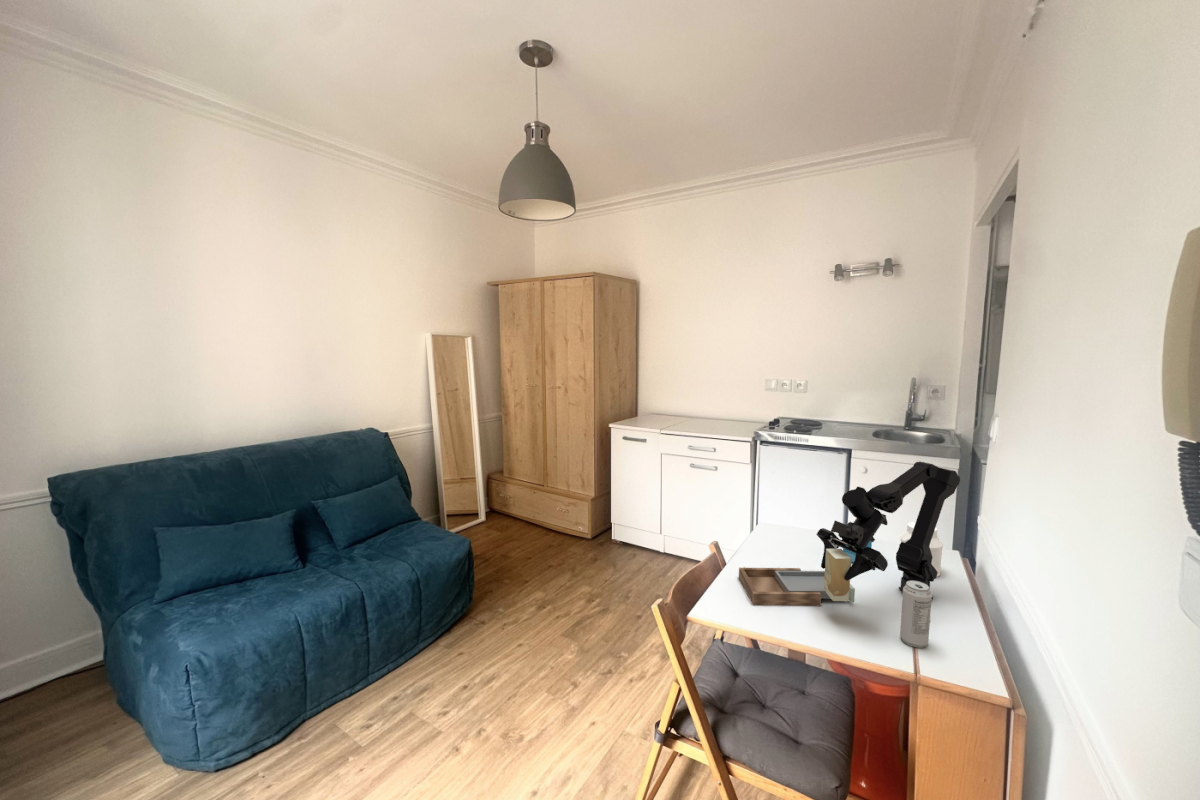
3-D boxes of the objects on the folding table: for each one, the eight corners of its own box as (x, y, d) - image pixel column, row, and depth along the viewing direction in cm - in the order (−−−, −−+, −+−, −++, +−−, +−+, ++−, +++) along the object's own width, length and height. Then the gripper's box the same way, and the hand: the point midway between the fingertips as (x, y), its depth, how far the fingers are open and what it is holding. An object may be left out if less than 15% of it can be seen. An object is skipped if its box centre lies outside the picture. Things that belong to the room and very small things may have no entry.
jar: (945, 572, 159) (948, 528, 157) (933, 580, 153) (936, 535, 152) (906, 560, 168) (909, 518, 166) (893, 567, 163) (896, 524, 161)
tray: (828, 574, 155) (829, 563, 154) (854, 601, 138) (854, 588, 138) (772, 574, 155) (772, 562, 155) (790, 601, 139) (791, 588, 139)
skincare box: (823, 589, 135) (824, 547, 133) (838, 589, 135) (840, 547, 133) (833, 602, 128) (835, 558, 127) (849, 602, 128) (852, 558, 127)
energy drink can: (917, 634, 125) (921, 579, 123) (933, 648, 119) (938, 590, 117) (894, 635, 125) (898, 579, 123) (910, 649, 119) (914, 591, 117)
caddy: (799, 578, 155) (799, 568, 155) (820, 605, 139) (821, 594, 139) (738, 578, 156) (739, 567, 155) (753, 605, 139) (753, 593, 139)
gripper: (822, 500, 139) (791, 544, 136) (882, 522, 122) (849, 572, 119) (841, 522, 143) (811, 565, 140) (901, 546, 126) (870, 595, 123)
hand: (833, 573), depth 130 cm, fingers closed on skincare box, 7 cm apart
